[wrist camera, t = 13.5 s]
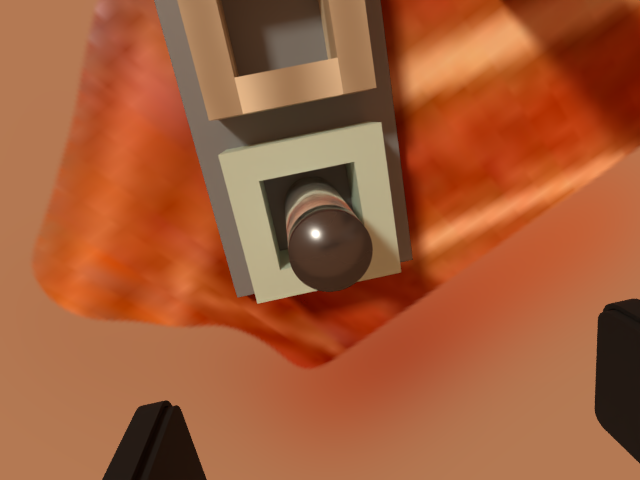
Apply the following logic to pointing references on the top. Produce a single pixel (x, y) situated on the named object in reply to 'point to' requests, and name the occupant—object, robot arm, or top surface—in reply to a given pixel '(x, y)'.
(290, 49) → the base board
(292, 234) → the steel pin
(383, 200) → the sage dock
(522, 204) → the top surface
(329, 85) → the maple mount
